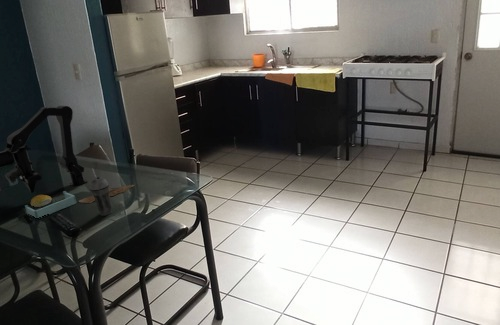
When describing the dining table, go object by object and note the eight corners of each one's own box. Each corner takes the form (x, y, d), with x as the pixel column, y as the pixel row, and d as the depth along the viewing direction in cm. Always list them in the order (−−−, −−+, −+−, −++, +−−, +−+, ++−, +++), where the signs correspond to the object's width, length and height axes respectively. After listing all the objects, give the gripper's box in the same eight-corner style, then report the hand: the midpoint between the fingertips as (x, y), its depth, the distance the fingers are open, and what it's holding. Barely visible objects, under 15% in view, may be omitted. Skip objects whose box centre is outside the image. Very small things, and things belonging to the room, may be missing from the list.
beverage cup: (118, 209, 169) (107, 164, 163) (107, 217, 163) (95, 170, 156) (104, 208, 172) (93, 164, 165) (93, 216, 165) (80, 170, 159)
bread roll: (44, 199, 192) (41, 191, 191) (55, 201, 187) (52, 193, 186) (27, 206, 186) (24, 198, 184) (38, 209, 181) (35, 200, 180)
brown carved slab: (80, 206, 178) (80, 204, 177) (76, 199, 187) (76, 197, 186) (138, 189, 190) (138, 187, 189) (131, 183, 199) (131, 181, 198)
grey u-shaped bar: (27, 214, 176) (24, 205, 175) (67, 198, 188) (64, 190, 187) (36, 219, 169) (33, 210, 168) (77, 203, 182) (74, 194, 180)
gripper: (-4, 164, 186) (7, 195, 191) (11, 169, 174) (22, 203, 179) (21, 156, 194) (31, 186, 199) (37, 161, 182) (47, 193, 187)
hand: (32, 192), depth 191 cm, fingers closed
